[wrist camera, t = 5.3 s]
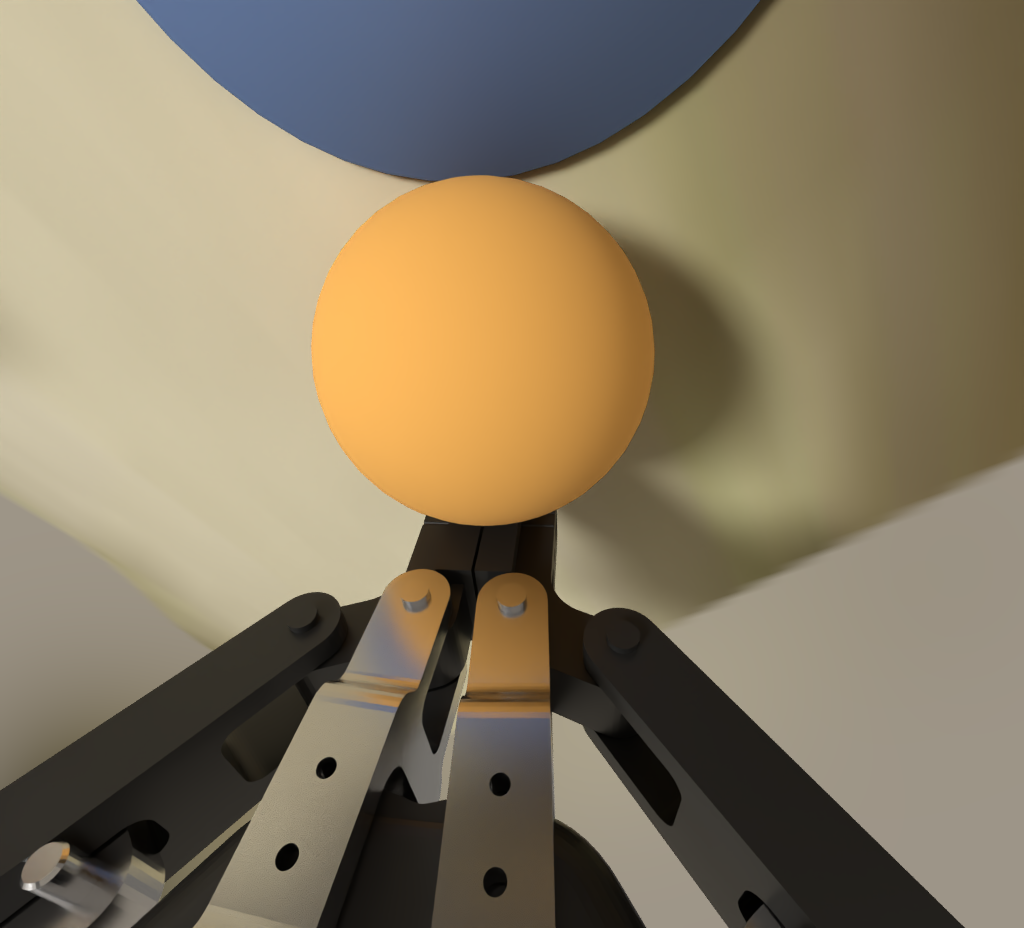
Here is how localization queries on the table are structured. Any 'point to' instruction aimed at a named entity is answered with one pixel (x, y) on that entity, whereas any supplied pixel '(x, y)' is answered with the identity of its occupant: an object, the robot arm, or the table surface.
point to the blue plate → (450, 72)
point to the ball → (483, 350)
